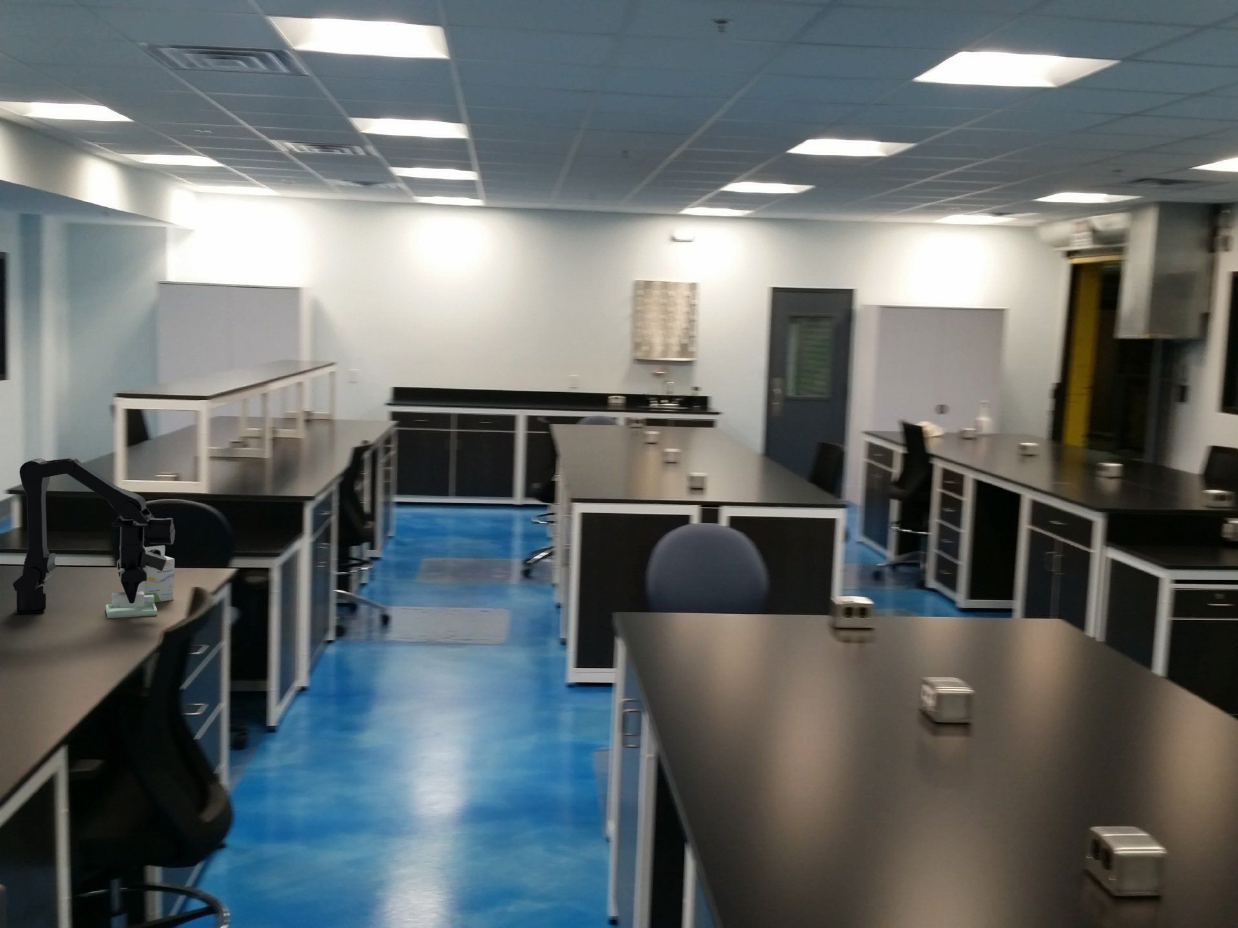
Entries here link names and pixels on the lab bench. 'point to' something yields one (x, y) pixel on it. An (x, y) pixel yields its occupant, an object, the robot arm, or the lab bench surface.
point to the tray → (131, 611)
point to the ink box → (159, 579)
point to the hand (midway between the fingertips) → (131, 601)
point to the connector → (122, 600)
